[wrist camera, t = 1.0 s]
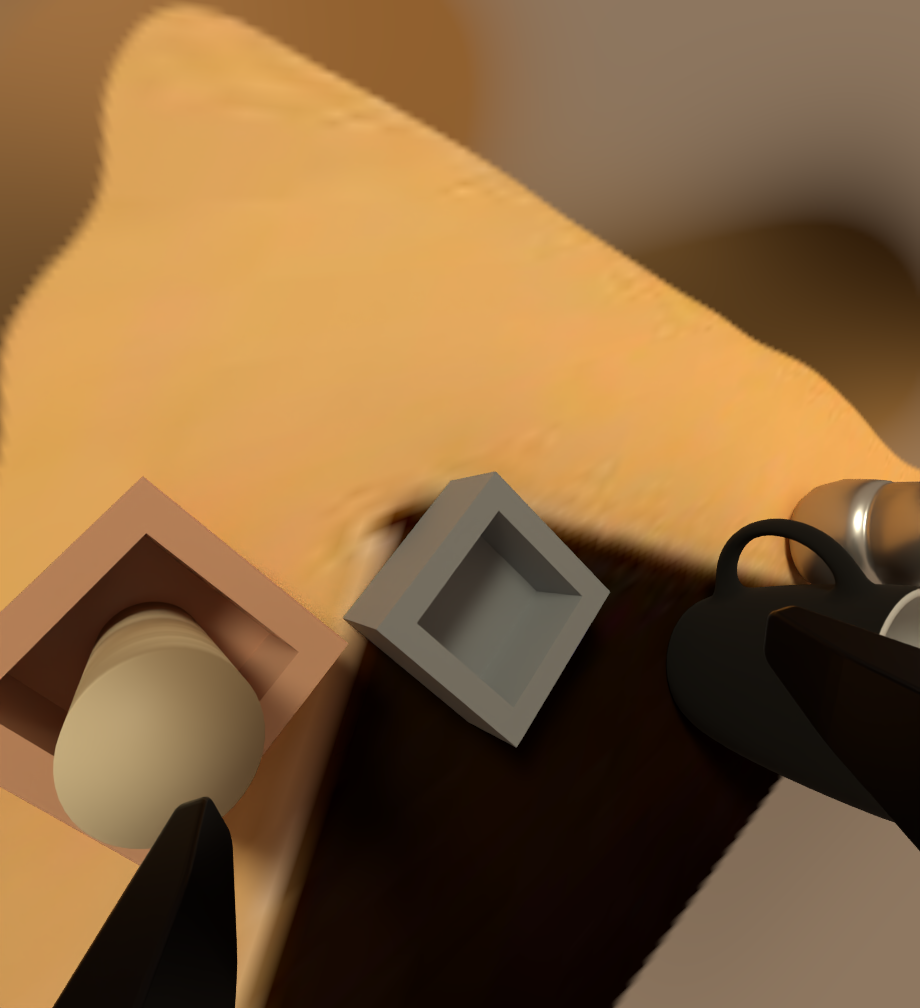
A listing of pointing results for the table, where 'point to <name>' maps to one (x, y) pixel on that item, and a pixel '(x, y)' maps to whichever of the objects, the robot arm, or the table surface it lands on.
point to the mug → (749, 678)
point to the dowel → (155, 728)
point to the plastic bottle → (864, 529)
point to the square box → (129, 581)
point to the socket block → (481, 605)
